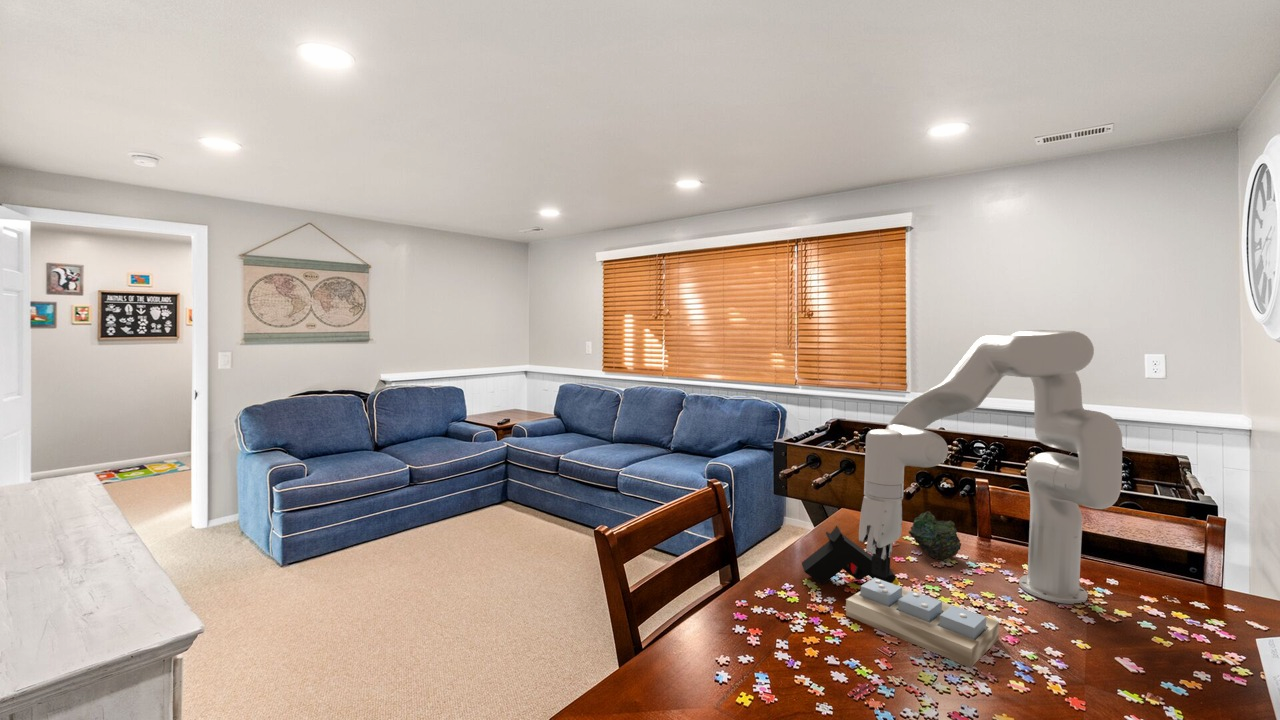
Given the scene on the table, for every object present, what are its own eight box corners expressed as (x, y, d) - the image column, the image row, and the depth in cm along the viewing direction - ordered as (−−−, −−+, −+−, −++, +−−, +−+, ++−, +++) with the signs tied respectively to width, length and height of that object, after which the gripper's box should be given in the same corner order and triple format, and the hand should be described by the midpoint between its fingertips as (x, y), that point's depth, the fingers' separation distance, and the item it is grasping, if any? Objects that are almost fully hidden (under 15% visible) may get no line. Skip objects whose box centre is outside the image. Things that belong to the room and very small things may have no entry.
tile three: (874, 588, 125) (874, 576, 125) (901, 598, 121) (902, 586, 121) (860, 597, 122) (860, 585, 121) (888, 608, 117) (888, 595, 117)
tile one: (952, 617, 113) (952, 603, 113) (985, 629, 109) (986, 615, 109) (939, 627, 109) (939, 614, 109) (973, 641, 105) (974, 626, 105)
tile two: (911, 602, 119) (911, 589, 119) (941, 613, 115) (942, 600, 115) (897, 611, 116) (898, 598, 115) (928, 623, 111) (929, 610, 111)
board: (878, 594, 129) (879, 579, 129) (998, 639, 111) (999, 621, 111) (845, 615, 120) (846, 599, 120) (970, 667, 102) (971, 648, 102)
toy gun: (867, 619, 133) (902, 579, 131) (803, 571, 135) (837, 531, 133) (862, 608, 138) (895, 570, 136) (800, 562, 140) (833, 523, 138)
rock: (894, 543, 159) (895, 508, 158) (929, 540, 161) (930, 505, 160) (927, 564, 145) (929, 526, 144) (966, 561, 147) (967, 523, 146)
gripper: (883, 479, 127) (880, 559, 129) (848, 491, 118) (845, 578, 119) (917, 486, 122) (914, 571, 123) (883, 500, 112) (880, 591, 113)
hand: (880, 574), depth 121 cm, fingers closed
